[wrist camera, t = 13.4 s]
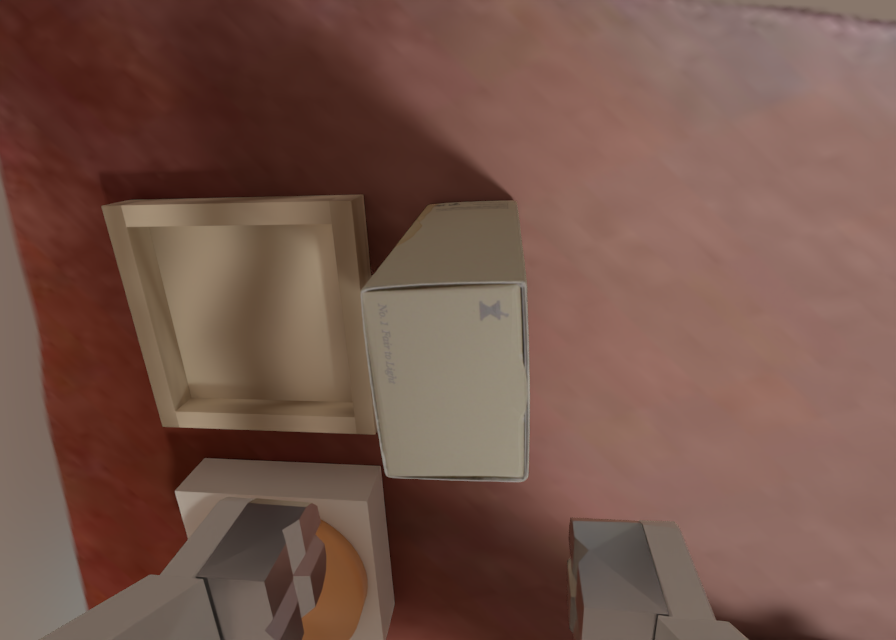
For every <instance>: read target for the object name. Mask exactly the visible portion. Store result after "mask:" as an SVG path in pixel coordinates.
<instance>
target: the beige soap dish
mask: <svg viewBox="0 0 896 640" xmlns="http://www.w3.org/2000/svg"><path fill="white" fill-rule="evenodd" d="M101 207H102V210H103V214H104V218H105V221H106V225H107V228H108V232H109V236H110V239H111V243H112V246H113V250H114V254H115V257H116V261H117V264H118V268H119V272H120V275H121V279H122V282H123V286H124V290H125V293H126V297H127V300H128V304H129V308H130V311H131V315H132V318H133V322H134V326H135V329H136V333H137V336H138V340H139V344H140V347H141V351H142V354H143V358H144V362H145V365H146V369H147V372H148V376H149V380H150V383H151V387H152V390H153V394H154V398H155V401H156V405H157V408H158V412H159V416H160V419H161V423H162V426H163V427H183V428H210V429H236V430H263V431H290V432H317V433H343V434H370V435H375V434H376V432H377V425H376V418H375V412H374V406H373V398H372V392H371V386H370V379H369V372H368V364H367V356H366V349H365V339H364V332H363V319H362V310H361V297H360V292H361V289H362V288H363V287H364V286H365V285H366V283H367V282H368V281H369V279H370V278H371V269H370V258H369V247H368V237H367V226H366V216H365V205H364V195H363V194H362V195H316V196H271V197H226V198H180V199H135V200H127V201H122V202H117V203H112V204H108V205H103V206H101Z"/></svg>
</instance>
